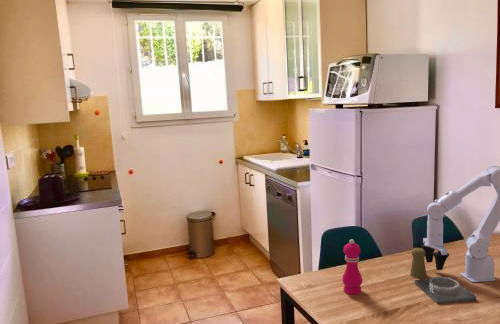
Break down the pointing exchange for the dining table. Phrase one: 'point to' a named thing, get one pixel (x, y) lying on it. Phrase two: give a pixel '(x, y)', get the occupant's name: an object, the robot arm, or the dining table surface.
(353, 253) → the pepper mill
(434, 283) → the plate
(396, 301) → the dining table surface
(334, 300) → the dining table surface
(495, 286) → the dining table surface
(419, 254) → the cork
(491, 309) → the dining table surface
